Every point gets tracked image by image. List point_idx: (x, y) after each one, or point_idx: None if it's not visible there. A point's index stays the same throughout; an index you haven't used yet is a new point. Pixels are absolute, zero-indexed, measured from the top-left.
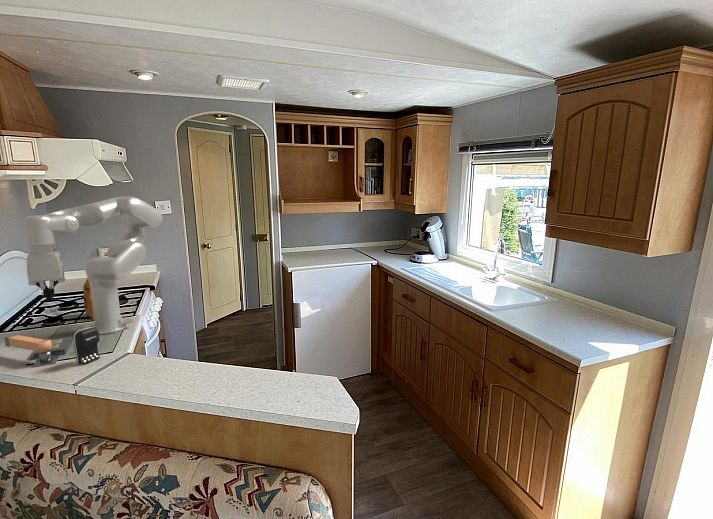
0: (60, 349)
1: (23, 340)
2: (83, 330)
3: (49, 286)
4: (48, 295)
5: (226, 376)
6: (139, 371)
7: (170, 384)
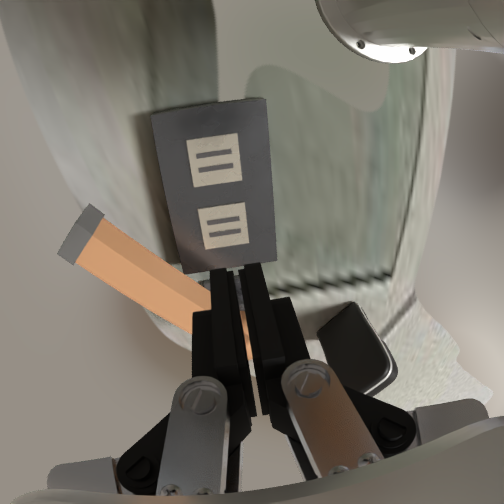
0: (263, 260)
1: (160, 316)
2: (368, 395)
3: (288, 443)
4: (246, 351)
5: (462, 386)
6: (405, 372)
7: (417, 400)
